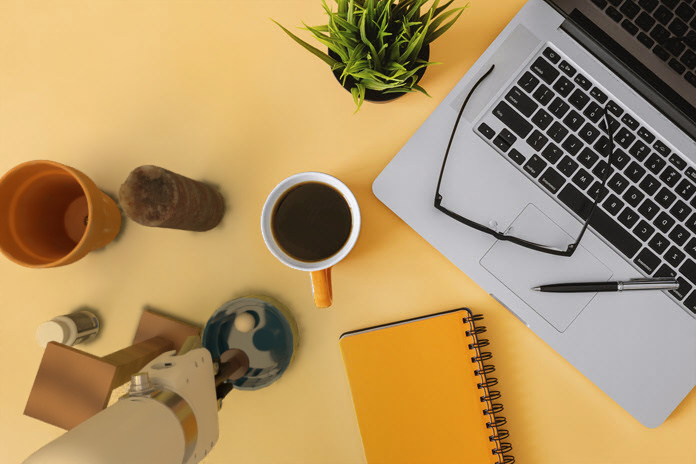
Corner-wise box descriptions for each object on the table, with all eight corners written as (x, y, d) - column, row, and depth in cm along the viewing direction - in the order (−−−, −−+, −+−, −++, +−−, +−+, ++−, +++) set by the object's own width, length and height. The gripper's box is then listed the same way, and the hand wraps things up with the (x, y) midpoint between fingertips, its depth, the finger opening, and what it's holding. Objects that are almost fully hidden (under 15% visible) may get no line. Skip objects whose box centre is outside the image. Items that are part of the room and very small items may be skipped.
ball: (253, 333, 73) (248, 337, 70) (235, 327, 73) (229, 330, 70) (259, 314, 73) (255, 317, 70) (241, 308, 73) (235, 310, 70)
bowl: (283, 392, 73) (276, 403, 68) (203, 364, 74) (189, 373, 68) (310, 310, 73) (305, 314, 68) (230, 283, 74) (219, 285, 69)
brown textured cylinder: (237, 216, 75) (188, 202, 55) (198, 243, 75) (135, 239, 55) (210, 175, 75) (152, 147, 55) (172, 202, 75) (99, 184, 55)
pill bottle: (73, 308, 75) (35, 315, 67) (102, 313, 75) (68, 320, 66) (68, 339, 75) (30, 350, 67) (97, 343, 75) (62, 355, 66)
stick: (244, 382, 64) (214, 413, 52) (216, 372, 64) (180, 401, 52) (253, 353, 64) (226, 378, 52) (225, 343, 64) (192, 366, 52)
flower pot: (124, 163, 76) (73, 145, 63) (150, 249, 75) (104, 249, 62) (40, 191, 76) (-27, 178, 63) (65, 277, 75) (1, 282, 62)
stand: (182, 384, 74) (94, 446, 50) (128, 365, 74) (16, 417, 51) (201, 328, 74) (122, 363, 51) (147, 309, 75) (44, 335, 51)
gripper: (95, 344, 40) (182, 313, 58) (114, 538, 39) (196, 445, 58) (183, 333, 40) (243, 306, 58) (204, 529, 39) (257, 439, 57)
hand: (219, 376), depth 58 cm, fingers closed on stick
